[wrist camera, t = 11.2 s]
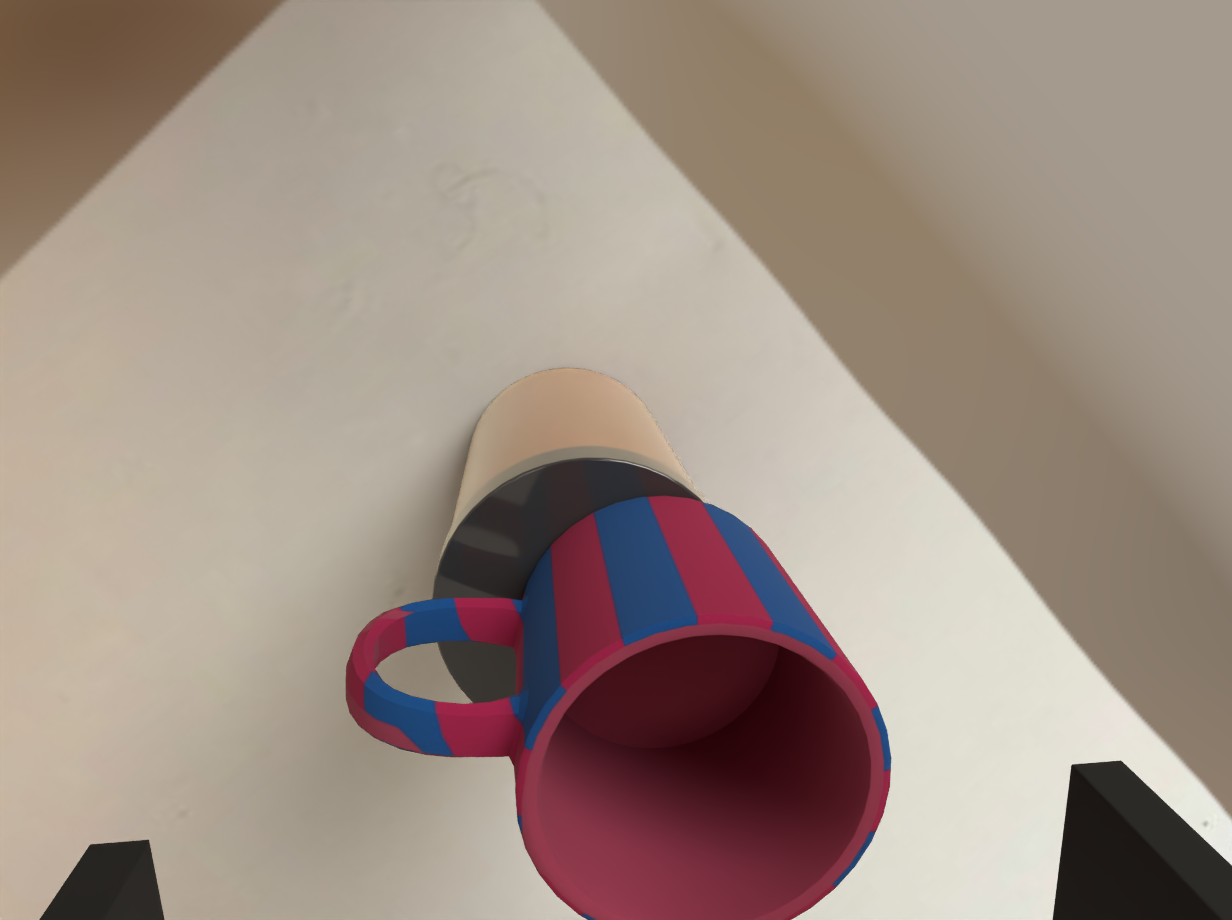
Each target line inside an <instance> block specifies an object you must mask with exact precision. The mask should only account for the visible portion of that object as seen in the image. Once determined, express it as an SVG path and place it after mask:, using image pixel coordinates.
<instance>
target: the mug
mask: <svg viewBox="0 0 1232 920" xmlns="http://www.w3.org/2000/svg"><path fill="white" fill-rule="evenodd" d="M443 641H468V642H480V643H489V644H496V645H502V646H508V647H513V649H514V651H515V656H516V695H513V696H509V697H506V698H502V699H499V700H495V701H492V702H485V703H469V704H459V703H447V702H436V701H431V700H427V699H422V698H418V697H413V696H410V695H407V694H405V693H402V692H400V691H398V690H395V689H393V688H392V687H390V686H389V685H388V684H386V683H385V682H384V681H383V680H382V679H381V677H380V676H379V674H378V673H377V671H376V670H375V668H376V667H377V666H378V664H379V663H380V662H381V661H383V660H384V659H385V658H387V657H388V656H389V655H391V654H392V653H395V652H397V651H399V650H402V649H404V648H406V647H410V646H415V645H420V644H426V643H434V642H443ZM346 701H347V705H348V708H349V712H350V714H351V715H352V717H353V718H354V719H355V721H356V722H357V724H358V725H359V726H360V727H361V728H362V729H364V730H365V731H366V732H368V733H369V734H370V735H371V736H373V737H374V738H376V739H378V740H380V741H383V742H385V743H387V744H390V745H392V746H394V747H397V748H399V749H402V750H406V751H411V752H415V753H420V754H424V755H433V756H444V757H504V756H509V757H510V759H511V761H512V763H513V765H514V772H515V782H516V788H515V793H516V806H517V818H518V824H519V827H520V831H521V834H522V838H523V841H524V845H525V848H526V850H527V852H528V854H529V856H530V858H531V860H532V862H533V863H534V865H535V867H536V869H537V871H538V873H539V874H540V876H541V877H542V878H543V879H544V881H545V882H546V883H547V884H548V886H549V887H550V888H551V889H552V891H553V892H554V893H555V894H556V896H557V897H559V898H560V899H561V900H562V901H563V902H565V903H566V904H567V905H568V906H569V907H571V908H572V909H573V910H574V911H575V912H576V913H578V914H579V915H581V916H582V917H584V918H586V919H587V920H791V919H793V918H795V917H796V916H798V915H800V914H802V913H803V912H805V911H807V910H808V909H810V908H811V907H813V906H814V905H815V904H816V903H818V902H819V901H820V900H821V899H823V898H824V897H825V896H826V895H828V894H829V893H830V892H831V891H832V890H834V889H835V888H836V887H837V886H838V884H839V883H840V882H841V881H842V880H843V879H844V878H845V877H846V876H847V875H848V874H849V872H850V871H851V870H852V869H853V868H854V867H855V866H856V864H857V863H858V861H859V860H860V858H861V856H862V855H863V853H864V852H865V850H866V849H867V847H868V846H869V844H870V843H871V841H872V839H873V837H874V834H875V832H876V830H877V827H878V825H879V823H880V821H881V818H882V816H883V813H884V809H885V805H886V800H887V796H888V792H889V788H890V772H891V754H890V747H889V741H888V734H887V729H886V726H885V724H884V721H883V718H882V715H881V713H880V710H879V707H878V705H877V702H876V701H875V699H874V698H873V696H872V694H871V693H870V691H869V690H868V688H867V686H866V685H865V683H864V681H863V680H862V678H861V677H860V675H859V674H858V673H857V671H856V670H855V668H854V667H853V666H852V664H851V663H850V661H849V660H848V659H847V657H846V656H845V654H844V653H843V652H842V650H841V649H840V647H839V646H838V644H837V643H836V642H835V640H834V639H833V637H832V636H831V635H830V633H829V632H828V630H827V629H826V628H825V626H824V625H823V623H822V622H821V621H820V619H819V618H818V616H817V615H816V614H815V612H814V611H813V609H812V608H811V607H810V605H809V604H808V602H807V601H806V599H805V598H804V597H803V595H802V594H801V592H800V591H799V590H798V588H797V587H796V585H795V584H794V583H793V581H792V580H791V578H790V577H789V576H788V574H787V573H786V571H785V570H784V569H783V567H782V566H781V564H780V563H779V562H778V560H777V559H776V557H775V556H774V554H773V553H772V552H771V550H770V549H769V547H768V546H767V545H766V544H765V543H764V541H763V540H762V539H761V538H760V537H759V536H758V535H757V534H756V533H755V532H754V531H753V530H752V529H751V528H750V527H749V526H747V525H746V524H745V523H743V522H742V521H741V520H739V519H738V518H737V517H735V516H734V515H732V514H730V513H728V512H726V511H724V510H722V509H720V508H718V507H716V506H714V505H711V504H708V503H704V502H701V501H697V500H694V499H690V498H683V497H673V496H650V497H639V498H634V499H630V500H626V501H622V502H617V503H614V504H612V505H609V506H607V507H605V508H602V509H600V510H597V511H595V512H593V513H591V514H590V515H588V516H586V517H585V518H583V519H582V520H580V521H578V522H577V523H575V524H574V525H572V526H571V527H570V528H569V529H568V530H566V531H565V532H564V533H563V534H562V535H561V536H560V537H559V538H558V539H556V540H555V541H554V542H553V544H552V545H551V546H550V547H549V549H548V550H547V551H546V552H545V554H544V555H543V556H542V558H541V559H540V560H539V562H538V563H537V565H536V567H535V569H534V571H533V573H532V575H531V577H530V578H529V580H528V583H527V586H526V589H525V592H524V595H523V598H522V600H515V599H507V598H445V599H433V600H426V601H420V602H415V603H410V604H407V605H404V606H401V607H398V608H395V609H392V610H389V611H386V612H384V613H382V614H381V615H379V616H378V617H376V618H375V619H373V620H372V621H370V622H369V623H368V624H367V625H366V626H365V628H364V629H363V630H362V631H361V632H360V633H359V634H358V637H357V639H356V642H355V644H354V646H353V649H352V652H351V654H350V657H349V660H348V663H347V666H346Z"/></svg>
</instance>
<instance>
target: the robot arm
mask: <svg viewBox="0 0 1232 920" xmlns="http://www.w3.org/2000/svg"><path fill="white" fill-rule="evenodd" d="M40 920H164V915H163V910H162V905H161V900H160V895H159V889H158V884H157V879H156V874H155V869H154V864H153V859H152V853H151V848H150V843H149V840H141V841H128V842H116V843H104V844H92V845H90V846H89V847H88V849H87V850H86V852H85V853H84V855H83V856H82V858H81V859H80V861H79V862H78V864H77V865H76V866H75V868H74V869H73V871H72V872H71V874H70V875H69V877H68V878H67V880H66V881H65V883H64V884H63V886H62V887H61V889H60V890H59V892H58V893H57V895H56V896H55V898H54V899H53V901H52V902H51V904H50V905H49V906H48V908H47V909H46V911H45V912H44V914H43V915H42V917H41V918H40ZM1053 920H1232V865H1231V864H1229V863H1228V862H1227V861H1226V860H1225V859H1224V858H1223V857H1222V856H1221V855H1220V854H1219V853H1218V852H1217V851H1216V850H1215V849H1214V848H1213V847H1212V846H1210V845H1209V844H1208V843H1207V842H1206V841H1205V840H1204V839H1203V838H1202V837H1201V836H1200V835H1199V834H1198V833H1197V832H1196V831H1195V830H1194V829H1193V828H1192V827H1190V826H1189V825H1188V824H1187V823H1186V822H1185V821H1184V820H1183V819H1182V818H1181V817H1180V816H1179V815H1178V814H1177V813H1176V812H1175V811H1174V810H1173V809H1171V808H1170V807H1169V806H1168V805H1167V804H1166V803H1165V802H1164V801H1163V800H1162V799H1161V798H1160V797H1159V796H1158V795H1157V794H1156V793H1155V792H1154V791H1153V790H1151V789H1150V788H1149V787H1148V786H1147V785H1146V784H1145V783H1144V782H1143V781H1142V780H1141V779H1140V778H1139V777H1138V776H1137V775H1136V774H1135V773H1134V772H1132V771H1131V770H1130V769H1129V768H1128V767H1127V766H1126V765H1125V764H1124V763H1123V762H1122V761H1111V762H1099V763H1087V764H1074V765H1072V766H1071V774H1070V782H1069V790H1068V799H1067V807H1066V815H1065V823H1064V831H1063V840H1062V848H1061V856H1060V864H1059V872H1058V881H1057V889H1056V897H1055V905H1054V913H1053Z"/></svg>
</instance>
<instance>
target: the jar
mask: <svg viewBox="0 0 1232 920" xmlns="http://www.w3.org/2000/svg"><path fill="white" fill-rule="evenodd" d="M650 496H673V497H683V498H690V499H694V500H697V501H701V502H704V503H707V501H706V500H705V498H704V497H703V496H702V495H701V494H700V493H699V492H698V491H697V490H696V488H695V487H694V485H693V483H692V482H691V480H690V478H689V477H688V475H687V473H686V472H685V470H684V468H683V466H682V465H681V463H680V461H679V460H678V458H677V456H676V455H675V453H674V451H673V450H672V448H671V446H670V445H669V443H668V441H667V440H666V438H665V436H664V435H663V433H662V431H661V430H660V428H659V426H658V425H657V423H656V421H655V420H654V418H653V416H652V415H651V413H650V412H649V410H648V409H647V407H646V406H645V405H644V403H643V402H642V401H641V400H640V399H639V398H638V397H637V396H636V395H635V394H634V393H633V392H632V391H631V390H629V389H628V388H627V387H626V386H624V385H623V384H621V383H619V382H618V381H616V380H614V379H612V378H610V377H608V376H606V375H603V374H601V373H597V372H594V371H590V370H585V369H578V368H558V369H549V370H545V371H541V372H537V373H534V374H532V375H529V376H527V377H524V378H522V379H521V380H519V381H517V382H515V383H513V384H512V385H511V386H509V387H508V388H506V389H505V390H504V391H502V392H501V393H500V394H499V395H498V396H497V397H496V398H495V399H494V400H493V401H492V402H491V404H490V405H489V406H488V407H487V409H486V410H485V412H484V413H483V415H482V417H481V418H480V420H479V422H478V424H477V426H476V429H475V431H474V434H473V437H472V441H471V444H470V449H469V453H468V457H467V461H466V466H465V470H464V474H463V478H462V483H461V487H460V491H459V496H458V500H457V504H456V508H455V513H454V517H453V521H452V525H451V529H450V531H449V533H448V536H447V538H446V540H445V543H444V545H443V549H442V552H441V556H440V560H439V563H438V567H437V571H436V575H435V580H434V587H433V595H432V600H433V599H445V598H507V599H515V600H522V598H523V595H524V592H525V589H526V586H527V583H528V580H529V578H530V577H531V575H532V573H533V571H534V569H535V567H536V565H537V563H538V562H539V560H540V559H541V558H542V556H543V555H544V554H545V552H546V551H547V550H548V549H549V547H550V546H551V545H552V544H553V542H554V541H555V540H556V539H558V538H559V537H560V536H561V535H562V534H563V533H564V532H565V531H566V530H568V529H569V528H570V527H571V526H572V525H574V524H575V523H577V522H578V521H580V520H582V519H583V518H585V517H586V516H588V515H590V514H591V513H593V512H595V511H597V510H600V509H602V508H605V507H607V506H609V505H612V504H614V503H617V502H622V501H626V500H630V499H634V498H639V497H650ZM437 643H438V647H439V650H440V653H441V656H442V658H443V660H444V662H445V664H446V666H447V668H448V670H449V672H450V674H451V675H452V677H453V678H454V680H455V681H456V683H457V684H458V686H459V687H460V689H461V690H462V691H463V692H464V693H465V694H466V695H467V696H468V698H469V699H470V700H471V701H472V702H473V703H485V702H492V701H495V700H499V699H502V698H506V697H509V696H513V695H516V656H515V651H514V649H513V647H508V646H502V645H496V644H489V643H480V642H468V641H443V642H437Z"/></svg>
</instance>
